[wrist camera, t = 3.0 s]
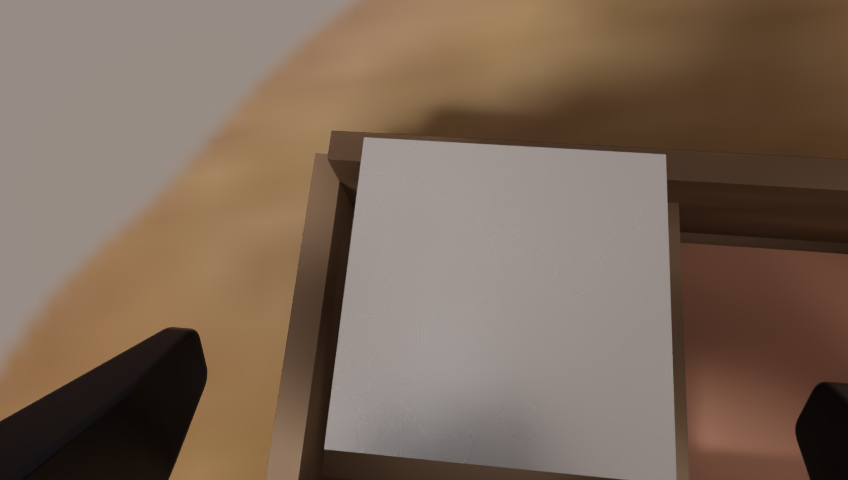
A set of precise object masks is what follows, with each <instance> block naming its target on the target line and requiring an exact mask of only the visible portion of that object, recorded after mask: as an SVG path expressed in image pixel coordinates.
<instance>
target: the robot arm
mask: <svg viewBox="0 0 848 480" xmlns="http://www.w3.org/2000/svg"><path fill="white" fill-rule="evenodd" d="M206 380H207V366H206V362H205V358H204V354H203V349H202V345H201V341H200V337H199V334H198V333H197V331H195V330H193V329H190V328H178V327H169V328H166V329H164V330H162V331H160V332H158V333H157V334H155V335H153V336H151V337H149V338H148V339H146V340H144V341H142V342H141V343H139V344H137V345H135V346H133V347H132V348H130V349H128V350H126V351H125V352H123V353H121V354H119V355H117V356H116V357H114V358H112V359H110V360H109V361H107V362H105V363H103V364H101V365H100V366H98V367H96V368H94V369H93V370H91V371H89V372H87V373H85V374H84V375H82V376H80V377H78V378H77V379H75V380H73V381H71V382H69V383H68V384H66V385H64V386H62V387H60V388H59V389H57V390H55V391H53V392H52V393H50V394H48V395H46V396H44V397H43V398H41V399H39V400H37V401H36V402H34V403H32V404H30V405H28V406H27V407H25V408H23V409H21V410H20V411H18V412H16V413H14V414H12V415H11V416H9V417H7V418H5V419H3V420H2V421H0V480H168V479H169V477H170V475H171V472H172V470H173V468H174V465H175V463H176V460H177V458H178V455H179V453H180V450H181V447H182V445H183V442H184V439H185V437H186V434H187V432H188V429H189V426H190V424H191V421H192V419H193V416H194V413H195V411H196V408H197V405H198V403H199V400H200V398H201V395H202V392H203V390H204V387H205V384H206ZM795 434H796V439H797V443H798V446H799V449H800V452H801V454H802V457H803V460H804V463H805V466H806V469H807V472H808V475H809V478H810V480H848V383H836V382H821V383H819V384H817V385H816V386H815V387H814V389H813V390H812V392H811V394H810V396H809V398H808V400H807V402H806V404H805V406H804V408H803V409H802V411H801V413H800V415H799V417H798V419H797V422H796V426H795Z"/></svg>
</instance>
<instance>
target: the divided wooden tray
mask: <svg viewBox="0 0 848 480" xmlns="http://www.w3.org/2000/svg"><path fill="white" fill-rule="evenodd" d="M364 137H368V138H385V139H403V140H420V141H438V142H456V143H473V144H491V145H508V146H526V147H544V148H561V149H579V150H596V151H614V152H632V153H649V154H666V172H667V202H668V233H669V263H670V294H671V324H672V355H673V385H674V416H675V446H676V477H677V480H810V478H809V475H808V472H807V469H806V466H805V463H804V460H803V457H802V454H801V452H800V449H799V446H798V443H797V439H796V434H795V426H796V422H797V419H798V417H799V415H800V413H801V411H802V409H803V408H804V406H805V404H806V402H807V400H808V398H809V396H810V394H811V392H812V390H813V389H814V387H815V386H816V385H817V384H819V383H821V382H836V383H848V160H847V159H829V158H811V157H793V156H775V155H758V154H740V153H722V152H704V151H686V150H668V149H651V148H633V147H615V146H597V145H579V144H562V143H544V142H526V141H508V140H490V139H473V138H455V137H437V136H419V135H401V134H383V133H366V132H348V131H332V132H331V139H330V145H329V152H328V154H315V160H314V166H313V173H312V179H311V186H310V192H309V199H308V205H307V212H306V218H305V225H304V231H303V238H302V245H301V251H300V258H299V264H298V271H297V277H296V284H295V290H294V297H293V303H292V310H291V316H290V323H289V329H288V336H287V343H286V349H285V356H284V362H283V369H282V375H281V382H280V388H279V395H278V401H277V408H276V414H275V421H274V427H273V434H272V440H271V447H270V454H269V460H268V467H267V473H266V480H624V479H614V478H604V477H594V476H584V475H574V474H564V473H554V472H544V471H534V470H524V469H515V468H505V467H495V466H485V465H475V464H465V463H455V462H445V461H435V460H425V459H415V458H405V457H396V456H386V455H376V454H366V453H356V452H346V451H336V450H326V449H324V445H325V437H326V429H327V421H328V413H329V406H330V398H331V390H332V382H333V375H334V367H335V359H336V351H337V343H338V336H339V328H340V320H341V312H342V304H343V297H344V289H345V281H346V273H347V266H348V258H349V250H350V242H351V234H352V227H353V219H354V211H355V203H356V196H357V188H358V180H359V172H360V164H361V157H362V149H363V141H364Z"/></svg>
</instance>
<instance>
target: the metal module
mask: <svg viewBox="0 0 848 480" xmlns="http://www.w3.org/2000/svg"><path fill="white" fill-rule="evenodd" d="M324 449H326V450H336V451H346V452H356V453H366V454H376V455H386V456H396V457H405V458H415V459H425V460H435V461H445V462H455V463H465V464H475V465H485V466H495V467H505V468H515V469H524V470H534V471H544V472H554V473H564V474H574V475H584V476H594V477H604V478H614V479H624V480H677V477H676V446H675V416H674V385H673V355H672V324H671V294H670V263H669V233H668V202H667V172H666V154H649V153H632V152H614V151H596V150H579V149H561V148H544V147H526V146H508V145H491V144H473V143H456V142H438V141H420V140H403V139H385V138H368V137H364V141H363V149H362V157H361V164H360V172H359V180H358V188H357V196H356V203H355V211H354V219H353V227H352V234H351V242H350V250H349V258H348V266H347V273H346V281H345V289H344V297H343V304H342V312H341V320H340V328H339V336H338V343H337V351H336V359H335V367H334V375H333V382H332V390H331V398H330V406H329V413H328V421H327V429H326V437H325V445H324Z"/></svg>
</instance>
